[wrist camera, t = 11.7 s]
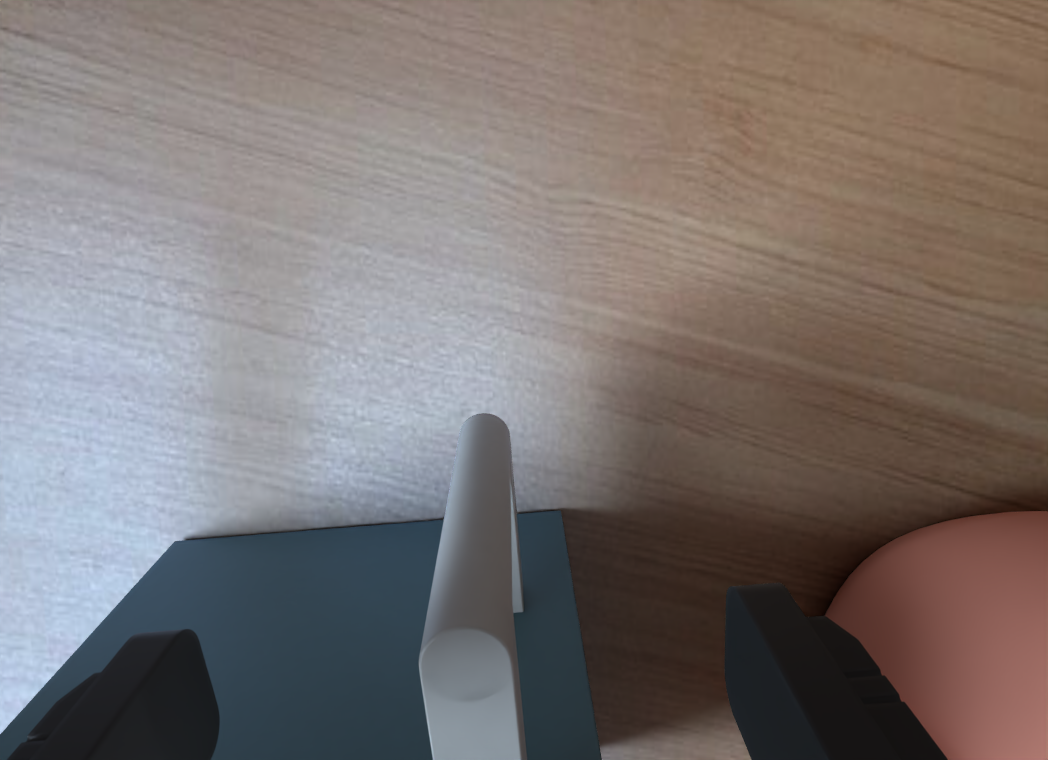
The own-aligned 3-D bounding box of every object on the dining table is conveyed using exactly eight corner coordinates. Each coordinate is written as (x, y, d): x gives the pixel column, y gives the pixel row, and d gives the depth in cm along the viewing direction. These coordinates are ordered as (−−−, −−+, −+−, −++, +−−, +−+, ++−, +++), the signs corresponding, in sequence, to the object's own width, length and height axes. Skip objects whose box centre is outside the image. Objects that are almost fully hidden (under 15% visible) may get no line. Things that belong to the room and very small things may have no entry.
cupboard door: (134, 396, 25) (-680, 884, 8) (551, 364, 25) (650, 775, 8) (180, 561, 27) (-374, 1218, 10) (562, 531, 27) (657, 1133, 10)
